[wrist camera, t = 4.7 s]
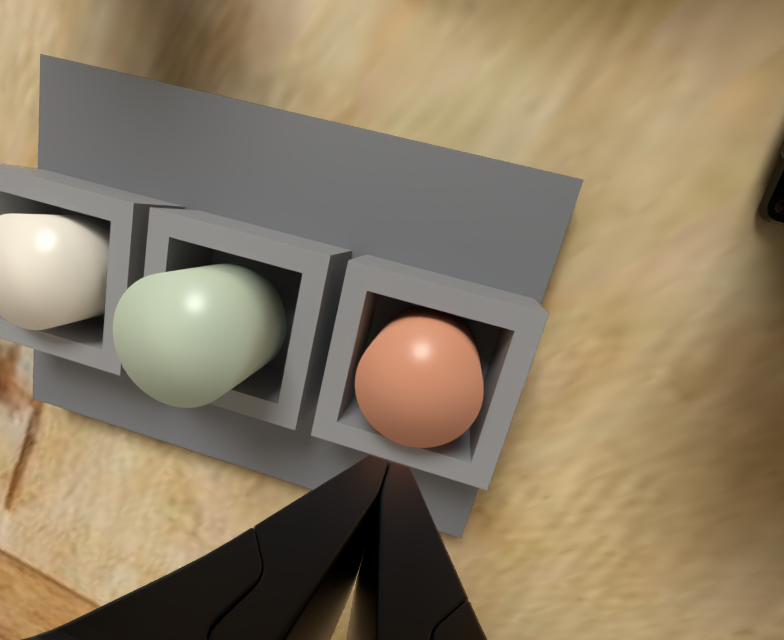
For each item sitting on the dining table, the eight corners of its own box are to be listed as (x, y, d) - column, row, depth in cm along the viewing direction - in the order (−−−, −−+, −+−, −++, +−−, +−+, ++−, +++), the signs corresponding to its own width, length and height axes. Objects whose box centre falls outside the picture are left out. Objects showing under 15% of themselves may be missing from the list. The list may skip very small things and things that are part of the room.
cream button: (148, 229, 17) (78, 230, 14) (140, 323, 18) (72, 343, 15) (60, 205, 17) (-28, 200, 14) (57, 298, 18) (-26, 313, 15)
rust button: (492, 322, 15) (500, 346, 12) (462, 418, 16) (462, 463, 13) (388, 294, 16) (370, 311, 13) (365, 389, 17) (343, 426, 14)
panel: (572, 184, 16) (611, 169, 12) (460, 514, 19) (460, 591, 15) (74, 68, 18) (-41, 20, 14) (61, 386, 21) (-32, 424, 17)
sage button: (295, 279, 14) (250, 293, 11) (276, 384, 15) (229, 424, 12) (189, 250, 15) (117, 256, 12) (177, 354, 16) (108, 386, 13)
